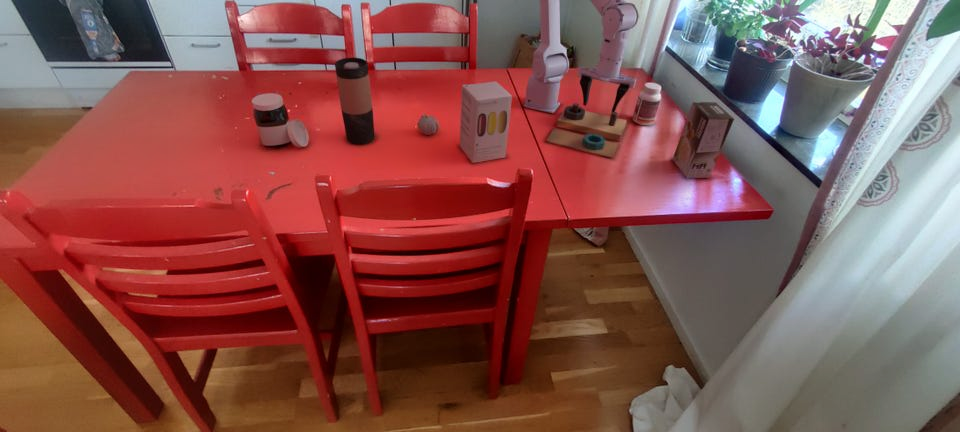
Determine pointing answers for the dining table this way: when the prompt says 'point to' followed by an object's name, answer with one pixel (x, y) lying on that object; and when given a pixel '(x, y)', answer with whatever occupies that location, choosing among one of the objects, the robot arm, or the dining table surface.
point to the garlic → (428, 125)
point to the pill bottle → (647, 104)
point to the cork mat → (579, 143)
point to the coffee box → (702, 139)
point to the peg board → (595, 124)
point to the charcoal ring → (572, 115)
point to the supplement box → (484, 121)
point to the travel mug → (355, 99)
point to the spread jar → (277, 123)
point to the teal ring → (597, 141)
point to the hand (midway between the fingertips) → (599, 107)
